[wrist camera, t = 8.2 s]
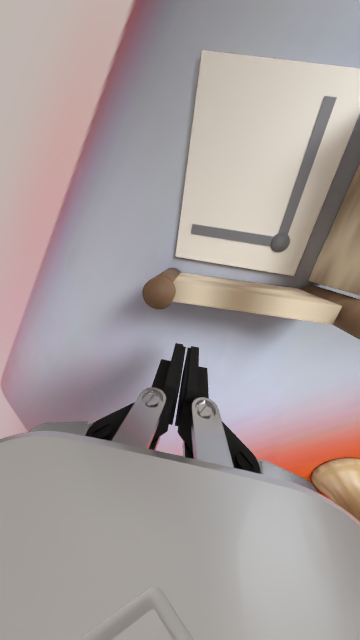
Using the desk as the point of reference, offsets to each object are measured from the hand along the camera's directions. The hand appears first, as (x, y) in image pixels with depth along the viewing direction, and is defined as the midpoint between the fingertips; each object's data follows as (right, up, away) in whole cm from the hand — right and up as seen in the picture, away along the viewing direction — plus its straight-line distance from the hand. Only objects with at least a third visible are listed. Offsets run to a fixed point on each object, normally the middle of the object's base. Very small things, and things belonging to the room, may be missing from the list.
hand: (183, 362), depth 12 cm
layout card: (+5, +13, 0) cm, 14 cm away
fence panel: (+4, +6, +3) cm, 8 cm away
